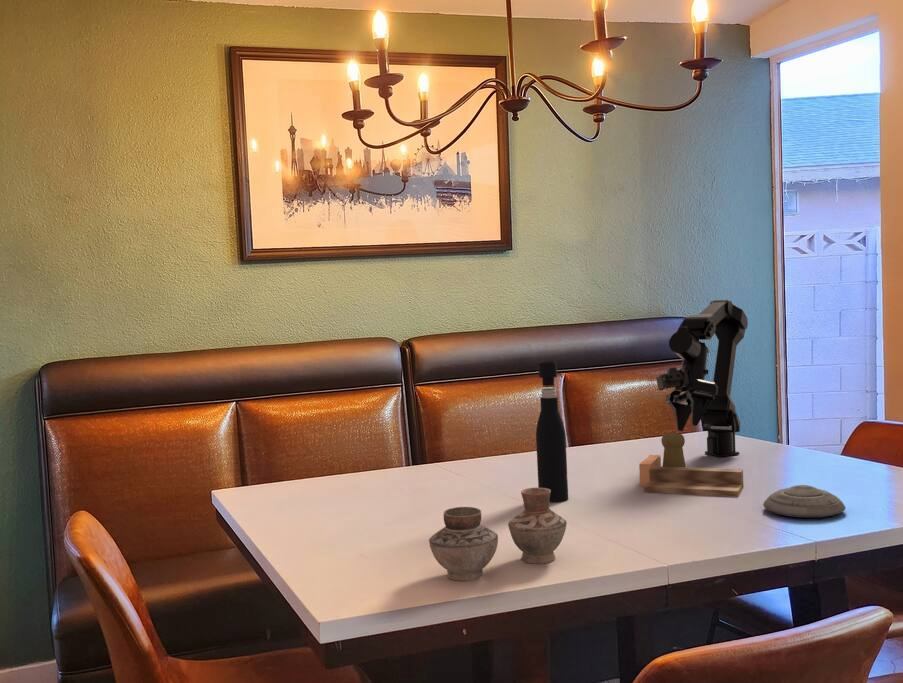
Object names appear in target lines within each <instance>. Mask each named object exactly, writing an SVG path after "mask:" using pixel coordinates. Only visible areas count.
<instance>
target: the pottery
mask: <svg viewBox="0 0 903 683" xmlns="http://www.w3.org/2000/svg"><path fill="white" fill-rule="evenodd" d="M550 493H551V490H550V489H548V488H538V487H529V488H525V489H522V490H521V491H520V494H521V498H522V502H523V505H524V510H523V511H521V512H519V513H518V514H516V515H515V516H514V517H512V518H511V519H510V520H509V521H508V523H507V527H508V530H509V532H510V536H511V538H512V541H513V543H514V544H515V546H516V547H517V549H519V550H520V551H521V552H522V555H521V560H522V561H523V562H525V563H528V564H535V565H538V564H539V565H541V564H549V563H553V561H555V560H556V555H555V552H554V551H555V550H557V548H558V547H559V546H560V544H561V543H562V540H563V539H564V535H565V533H566V529H567V524H568V523H567V520H566V519H565V518H563V517H562V516H561V515H559V514H558V513H556V512H555V511H553V510H552V509H550V502H549V499H550ZM481 521H482V509H480V508H477V507H472V506H459V507H458V506H456V507H452V508H448V509H445V510H444V511H443V522H444V527H442V528H440V530H438V531H437V532H435V533H434V534H433V535H431V537H430V538H429V539H428V542H429V548H430V550H431V553H432V555H433V557H434V559H435V561H437V563H438V564H439V565H440V566H441V567H442V568H444V569H445V570H446V571H447V577H448V578H449V579H450V580H452V581H457V582H458V581H460V582H462V581H463V582H467V581H475V580H478V579H480V578H482V577H483V575H484V571H483V570H484V569H485V568H486V567H487V566H488V564H489V563H490V562H491V561H492V559H493V557H494V556H495V554H496V552H497V548H498V542H499V535H498V533H497V532H495V531H493V530H492V529H490V528H489V527H486V526H485V525H483V524H481V523H482V522H481Z"/></svg>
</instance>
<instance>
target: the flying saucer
mask: <svg viewBox="0 0 903 683" xmlns="http://www.w3.org/2000/svg"><path fill="white" fill-rule="evenodd" d="M762 505H763V507H764V508H765V509H766V510H768V511H770V512H772V513H774V514H778V515H782V516H786V517H793V518H802V519H803V518H806V519H809V518H810V519H811V518H812V519H815V518H826V517H831V516H832V517H833V516H835V515H838V514H841V513H842V512H844V511H845V510H846V505H845V504H844V502H843V501H842V500H841V499H840V498H838V496H837V495H835V494H833V493H831V492H830V491H827V490H825V489H821V488H817V487H815V486H812V485H807V484H797V485H793V486H790V487H786V488H782V489H778V490H777V491H775V492H773V493H772V494H770V495H769V496H767V498H766V499H765V500H764V501H763V503H762Z"/></svg>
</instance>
